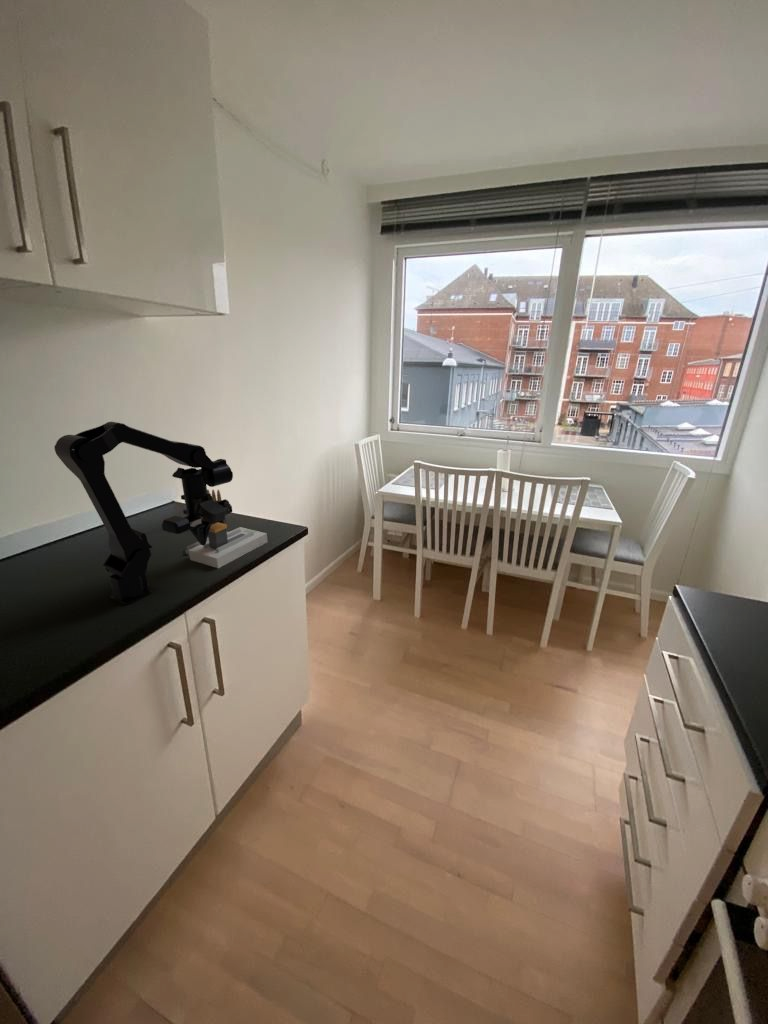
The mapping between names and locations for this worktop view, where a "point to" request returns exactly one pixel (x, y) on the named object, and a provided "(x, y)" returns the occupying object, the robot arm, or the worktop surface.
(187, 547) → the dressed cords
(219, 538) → the breaker lever
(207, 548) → the breaker panel
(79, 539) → the worktop surface
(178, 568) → the worktop surface
